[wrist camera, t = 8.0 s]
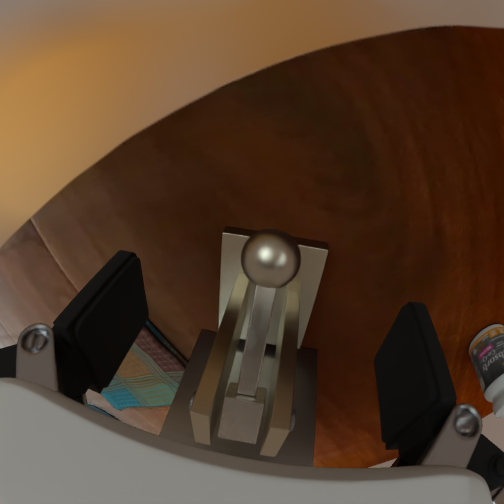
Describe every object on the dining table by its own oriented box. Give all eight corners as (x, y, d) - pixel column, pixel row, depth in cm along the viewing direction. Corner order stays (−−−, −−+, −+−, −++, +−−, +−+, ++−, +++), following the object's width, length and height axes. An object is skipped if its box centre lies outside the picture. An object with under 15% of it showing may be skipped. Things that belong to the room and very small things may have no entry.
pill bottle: (500, 313, 22) (535, 380, 14) (506, 337, 24) (534, 397, 15) (462, 341, 25) (488, 412, 16) (472, 362, 26) (493, 425, 18)
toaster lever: (248, 229, 17) (243, 218, 14) (302, 238, 17) (308, 229, 14) (217, 414, 16) (206, 438, 13) (266, 423, 16) (264, 449, 13)
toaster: (201, 328, 29) (151, 453, 17) (317, 349, 28) (311, 484, 16) (202, 368, 33) (165, 474, 20) (302, 386, 31) (291, 498, 19)
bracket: (226, 225, 23) (150, 366, 11) (327, 242, 22) (342, 402, 10) (220, 326, 28) (177, 451, 16) (300, 340, 28) (288, 472, 16)
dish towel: (53, 337, 37) (45, 347, 35) (128, 294, 28) (116, 309, 26) (123, 402, 43) (117, 413, 41) (222, 389, 34) (218, 405, 32)
